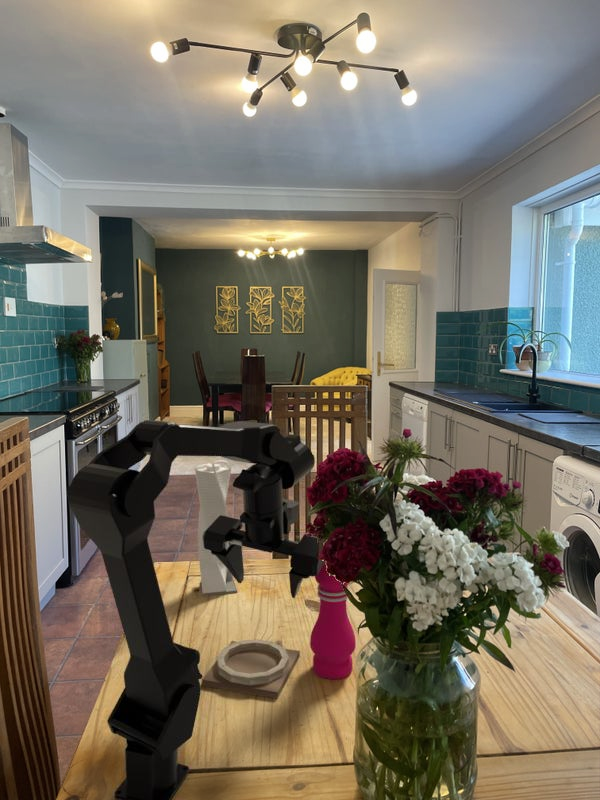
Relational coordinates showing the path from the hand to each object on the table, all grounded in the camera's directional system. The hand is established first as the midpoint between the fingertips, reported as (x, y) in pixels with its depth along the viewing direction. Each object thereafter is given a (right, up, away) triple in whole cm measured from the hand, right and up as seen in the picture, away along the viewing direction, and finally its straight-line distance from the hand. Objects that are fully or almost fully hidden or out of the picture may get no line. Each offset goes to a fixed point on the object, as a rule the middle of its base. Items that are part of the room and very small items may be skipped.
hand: (267, 588), depth 92 cm
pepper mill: (+10, -14, +2) cm, 17 cm away
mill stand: (-2, -13, +2) cm, 14 cm away
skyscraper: (-13, -10, +32) cm, 36 cm away
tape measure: (-15, -14, +1) cm, 20 cm away
